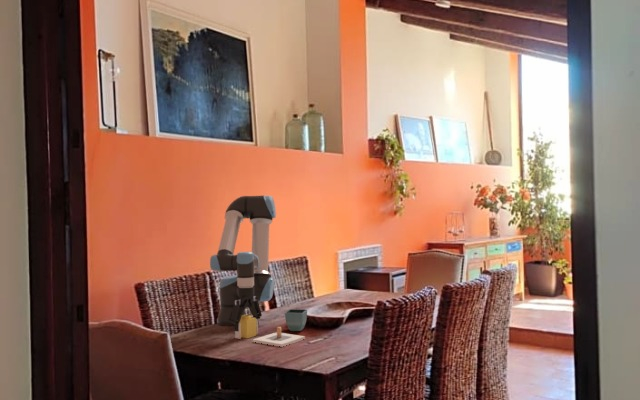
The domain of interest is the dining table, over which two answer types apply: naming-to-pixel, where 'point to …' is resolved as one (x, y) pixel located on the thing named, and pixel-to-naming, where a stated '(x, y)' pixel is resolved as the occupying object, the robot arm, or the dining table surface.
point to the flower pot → (296, 319)
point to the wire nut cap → (248, 326)
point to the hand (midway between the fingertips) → (246, 335)
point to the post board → (279, 338)
